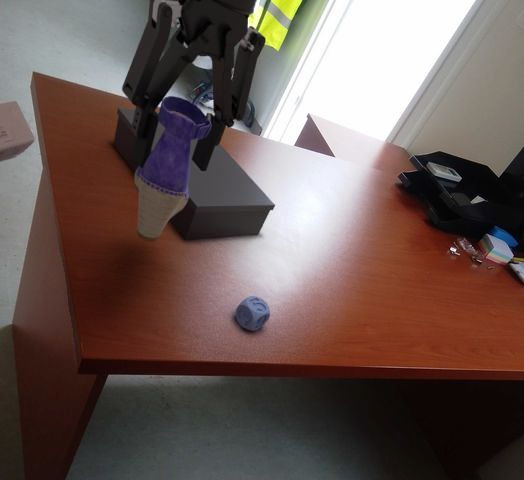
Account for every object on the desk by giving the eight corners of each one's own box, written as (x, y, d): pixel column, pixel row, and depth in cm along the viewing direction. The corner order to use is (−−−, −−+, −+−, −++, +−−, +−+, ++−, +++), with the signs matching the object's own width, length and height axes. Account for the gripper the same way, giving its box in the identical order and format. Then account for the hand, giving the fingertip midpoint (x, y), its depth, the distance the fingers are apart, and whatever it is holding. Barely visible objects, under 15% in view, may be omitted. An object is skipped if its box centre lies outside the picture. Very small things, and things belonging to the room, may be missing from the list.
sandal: (197, 185, 70) (231, 86, 60) (165, 253, 56) (203, 138, 46) (146, 162, 68) (173, 56, 59) (99, 226, 54) (125, 100, 44)
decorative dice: (248, 310, 76) (258, 293, 74) (264, 327, 75) (274, 310, 73) (232, 316, 74) (241, 299, 71) (247, 333, 73) (257, 316, 70)
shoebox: (111, 143, 93) (117, 107, 88) (187, 149, 105) (196, 118, 100) (184, 241, 82) (197, 206, 77) (260, 235, 94) (275, 205, 89)
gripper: (155, -77, 36) (104, 178, 51) (327, 0, 49) (247, 183, 64) (114, -112, 38) (77, 139, 53) (287, -30, 52) (219, 152, 67)
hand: (170, 163), depth 59 cm, fingers open, 8 cm apart
